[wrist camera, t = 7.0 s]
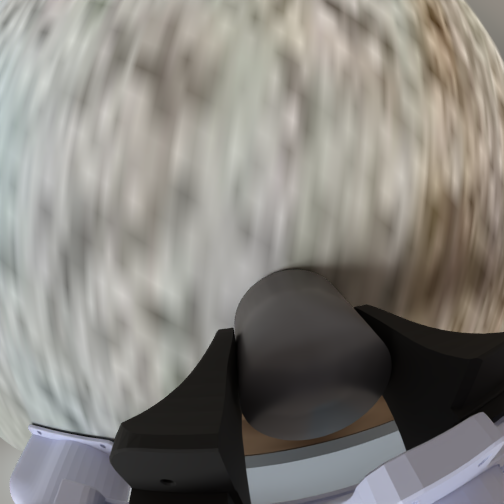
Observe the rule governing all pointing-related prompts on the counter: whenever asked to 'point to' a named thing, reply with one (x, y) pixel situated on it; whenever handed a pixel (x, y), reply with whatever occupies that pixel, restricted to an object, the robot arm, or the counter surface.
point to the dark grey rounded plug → (305, 358)
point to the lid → (321, 465)
